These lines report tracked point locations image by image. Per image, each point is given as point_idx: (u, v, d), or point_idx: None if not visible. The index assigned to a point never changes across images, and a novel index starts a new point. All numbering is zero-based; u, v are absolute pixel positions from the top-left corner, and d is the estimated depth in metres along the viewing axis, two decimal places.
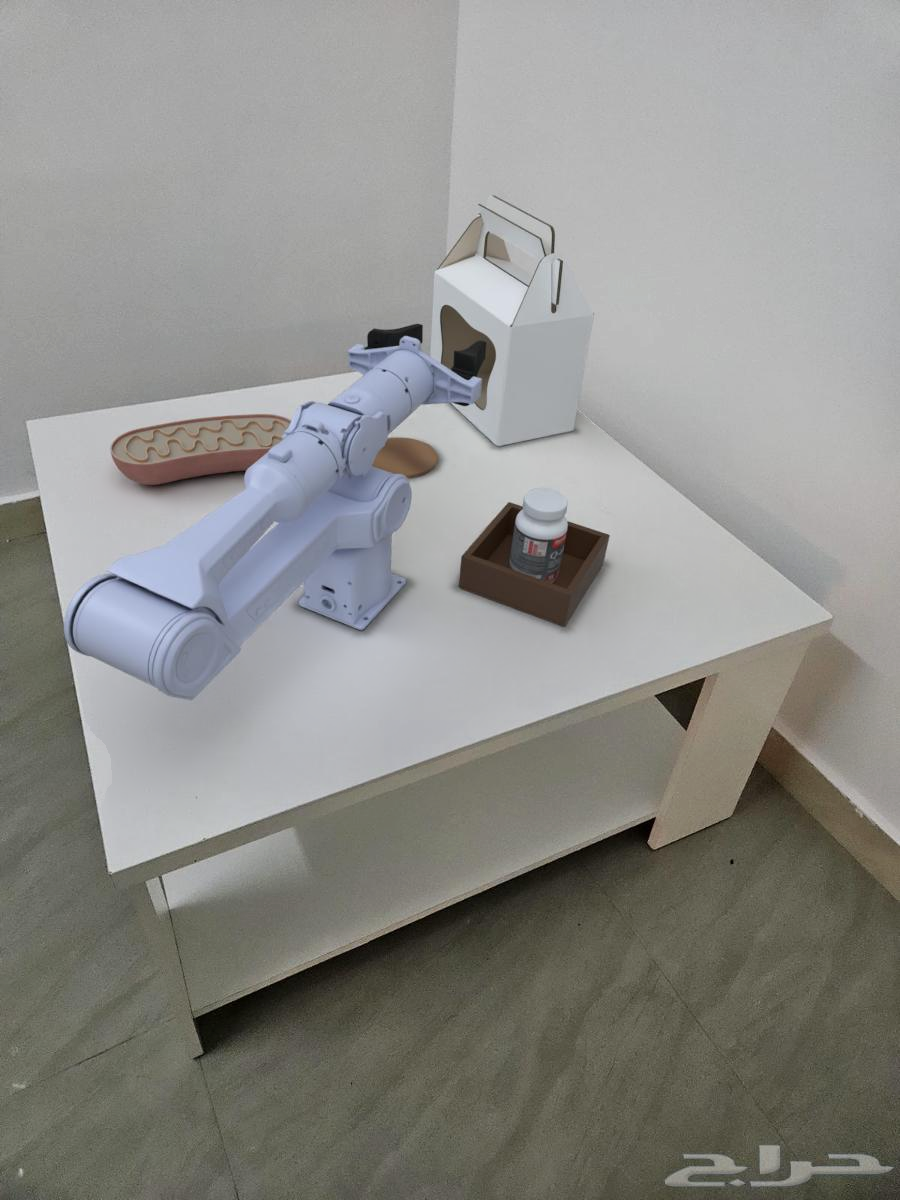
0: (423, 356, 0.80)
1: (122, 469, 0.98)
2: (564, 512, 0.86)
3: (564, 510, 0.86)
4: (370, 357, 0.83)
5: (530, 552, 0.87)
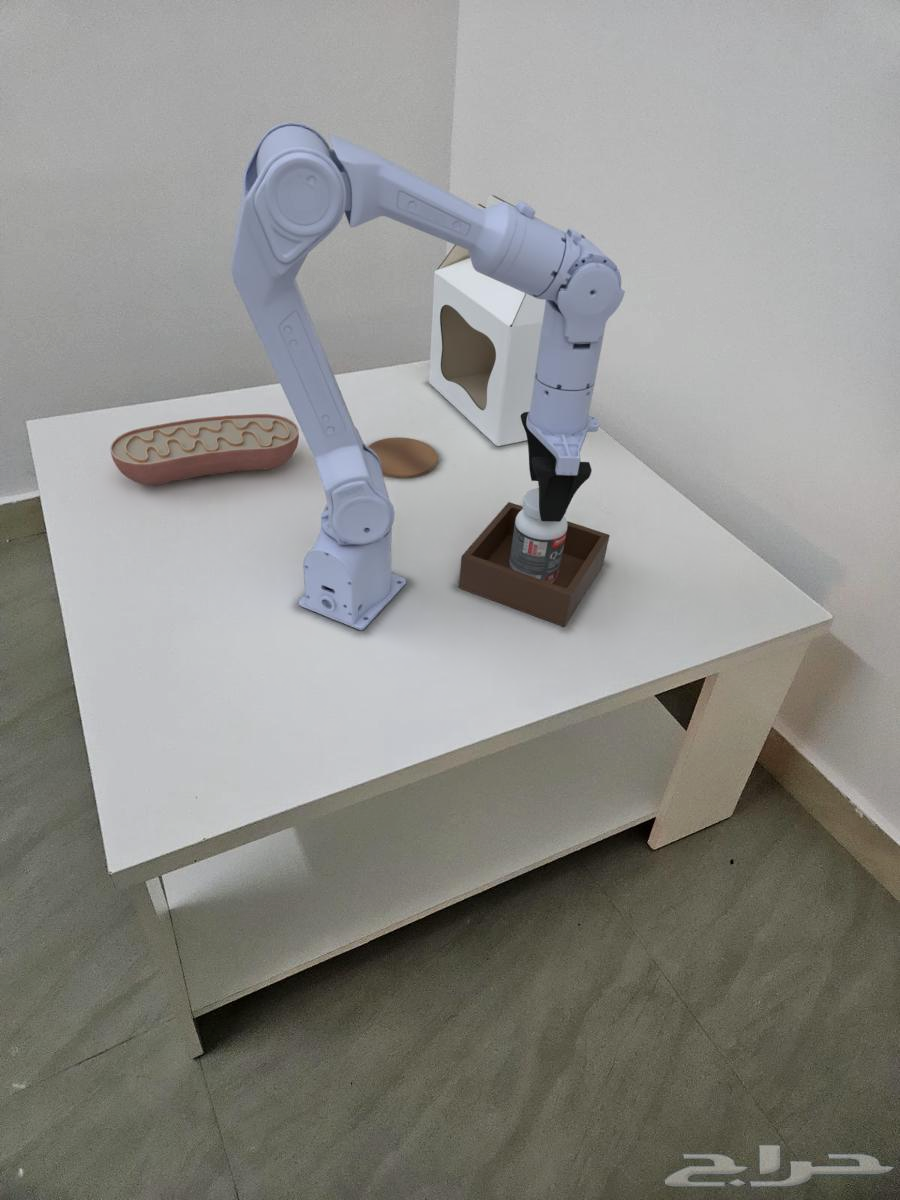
0: (587, 429, 0.79)
1: (122, 469, 0.98)
2: None
3: None
4: None
5: (529, 552, 0.87)
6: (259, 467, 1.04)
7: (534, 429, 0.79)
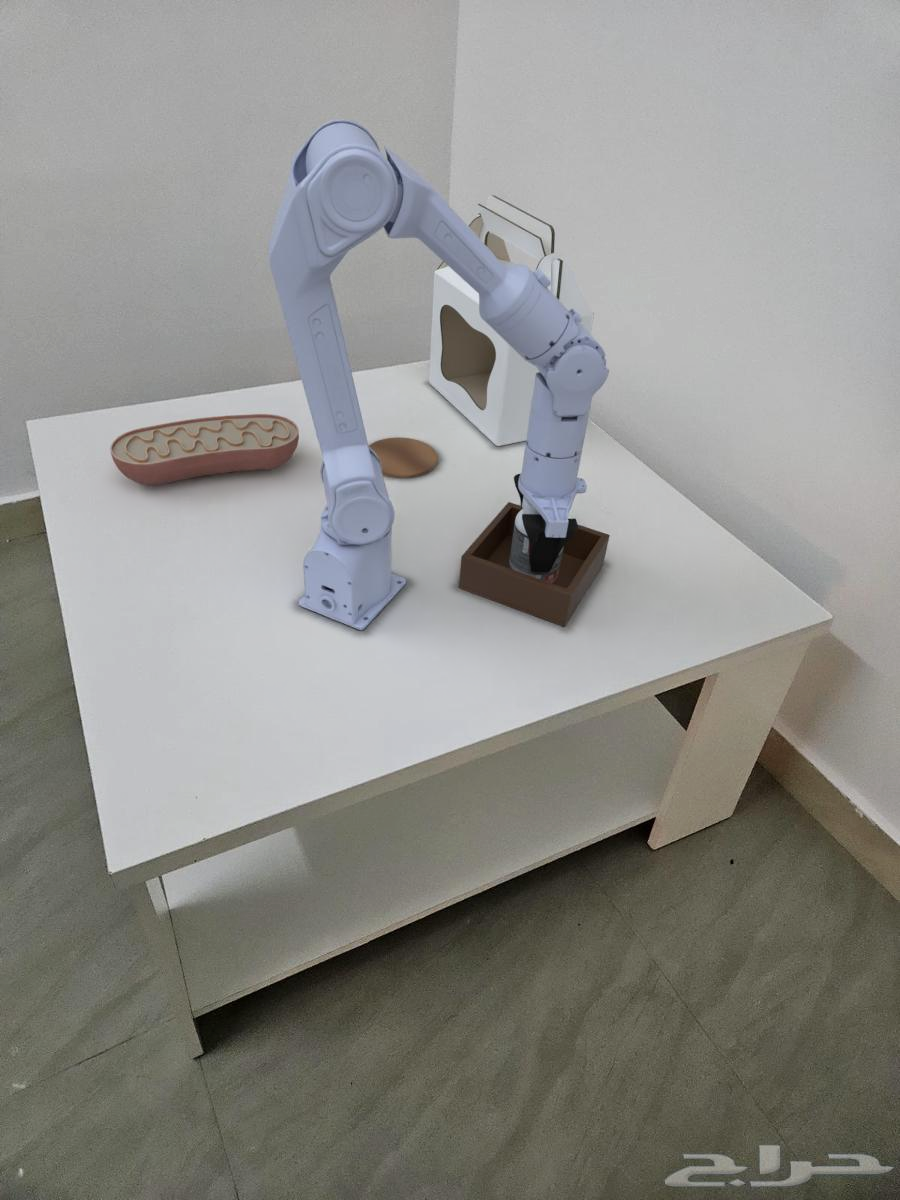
0: (575, 491, 0.84)
1: (122, 469, 0.98)
2: None
3: None
4: None
5: None
6: (259, 467, 1.04)
7: (525, 492, 0.83)
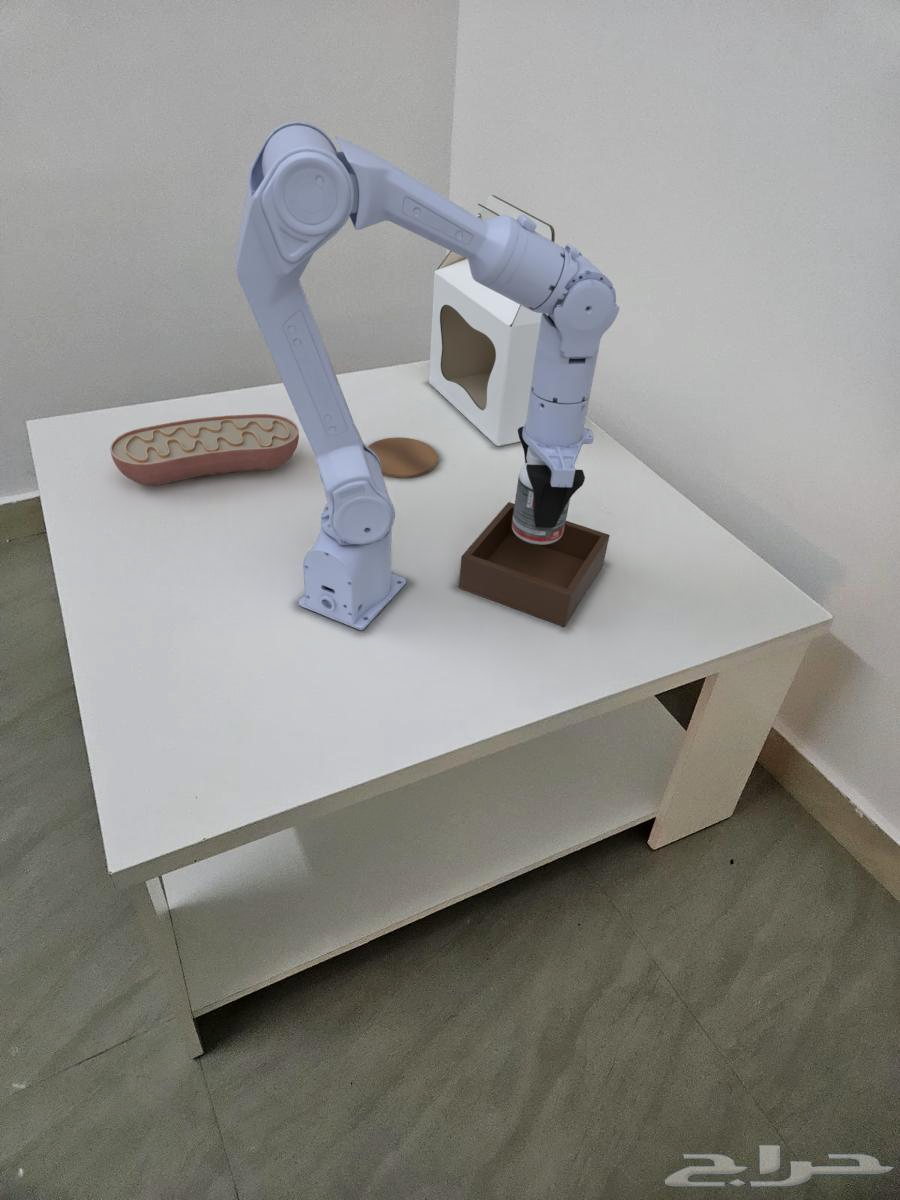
0: (582, 441, 0.80)
1: (122, 469, 0.98)
2: None
3: None
4: None
5: None
6: (259, 467, 1.04)
7: (530, 441, 0.80)
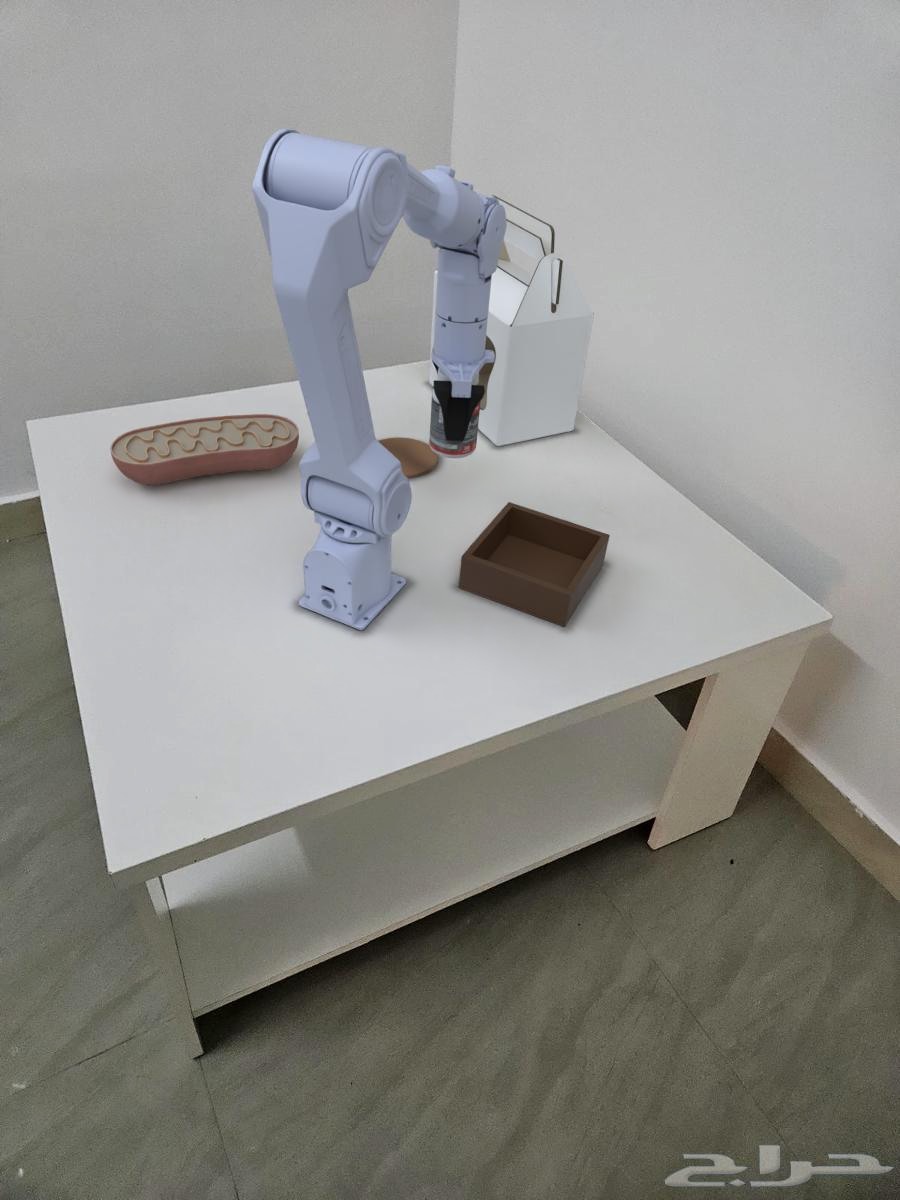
0: (483, 360, 0.90)
1: (122, 469, 0.98)
2: (475, 382, 0.92)
3: (475, 380, 0.92)
4: None
5: None
6: (259, 467, 1.04)
7: (436, 359, 0.89)
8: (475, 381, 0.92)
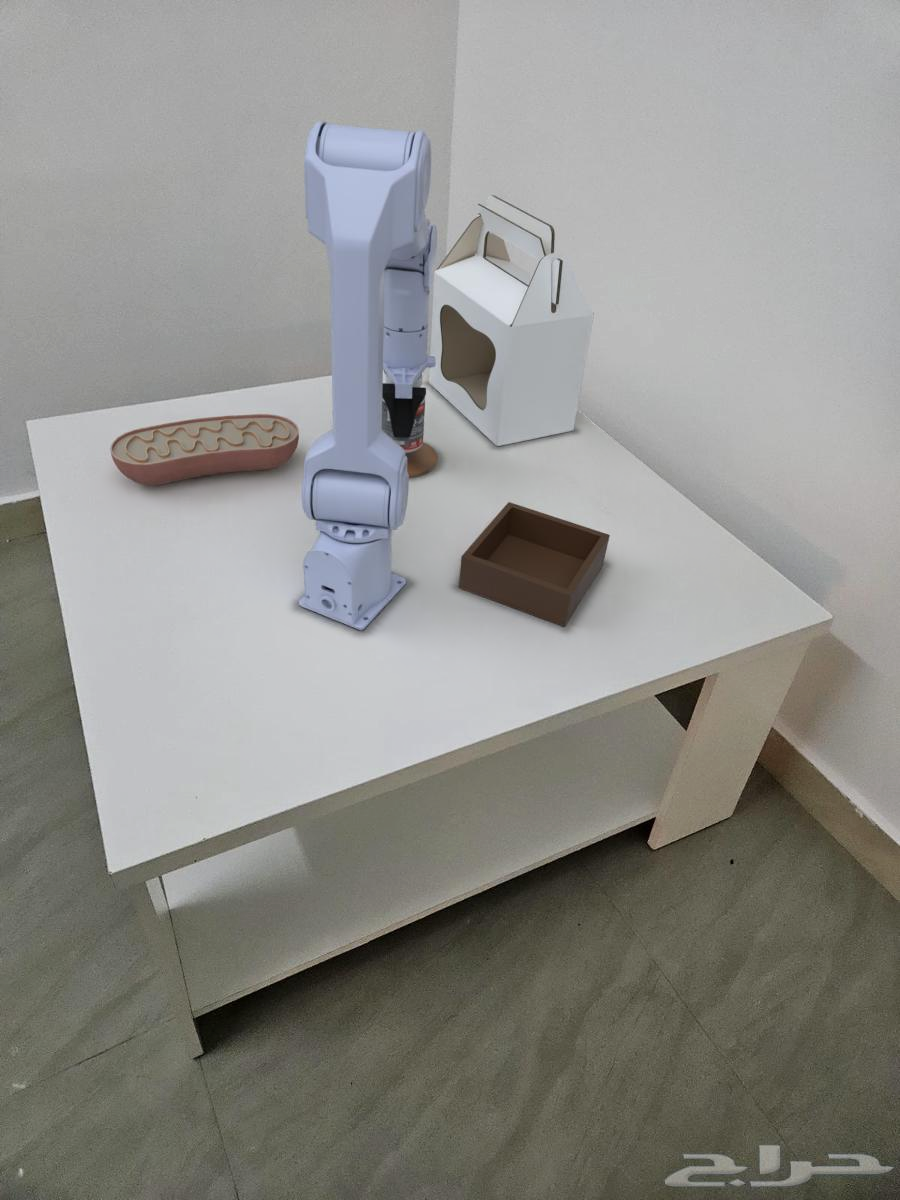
0: (425, 364, 1.01)
1: (122, 469, 0.98)
2: (418, 384, 1.03)
3: (419, 382, 1.03)
4: None
5: None
6: (259, 467, 1.04)
7: (382, 364, 1.00)
8: (419, 383, 1.03)
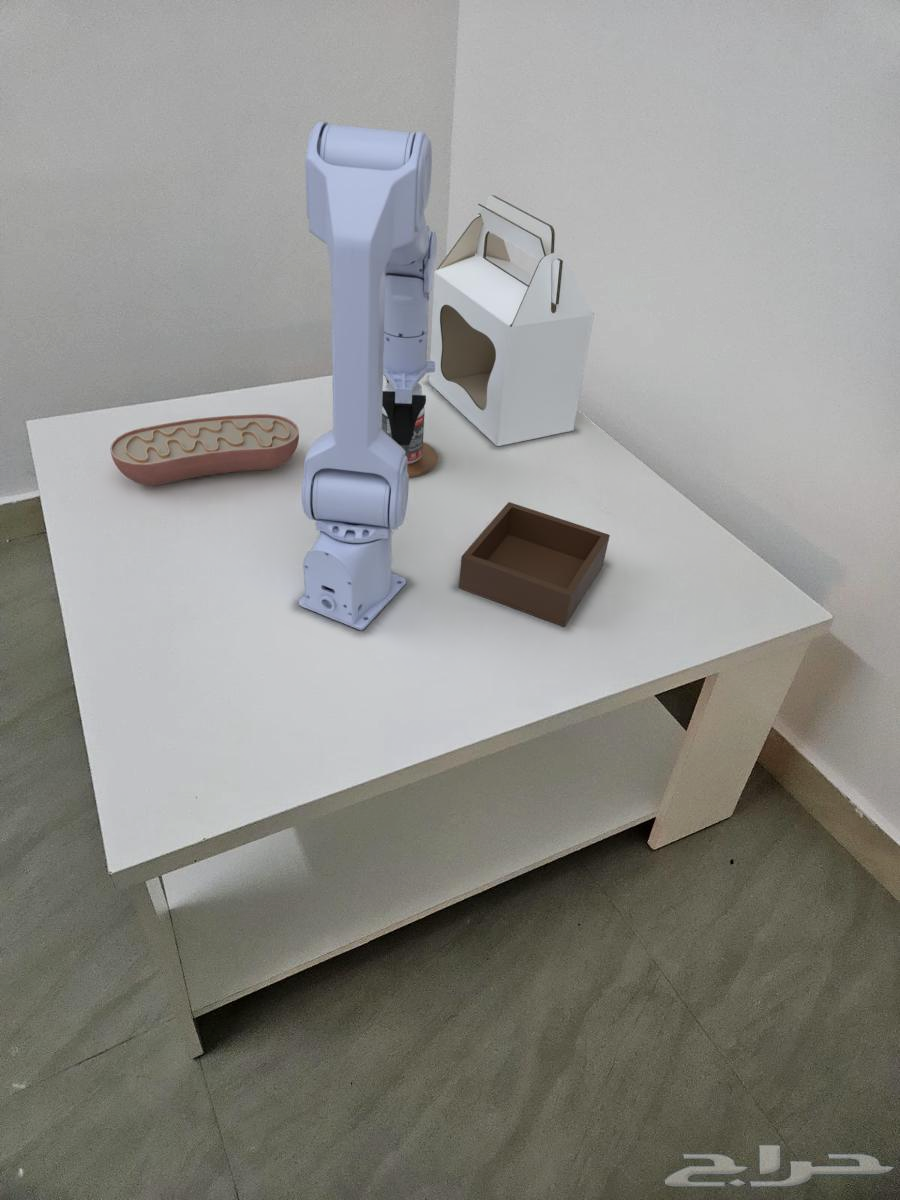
0: (424, 370, 1.01)
1: (122, 469, 0.98)
2: None
3: None
4: None
5: None
6: (259, 467, 1.04)
7: (382, 369, 1.01)
8: None
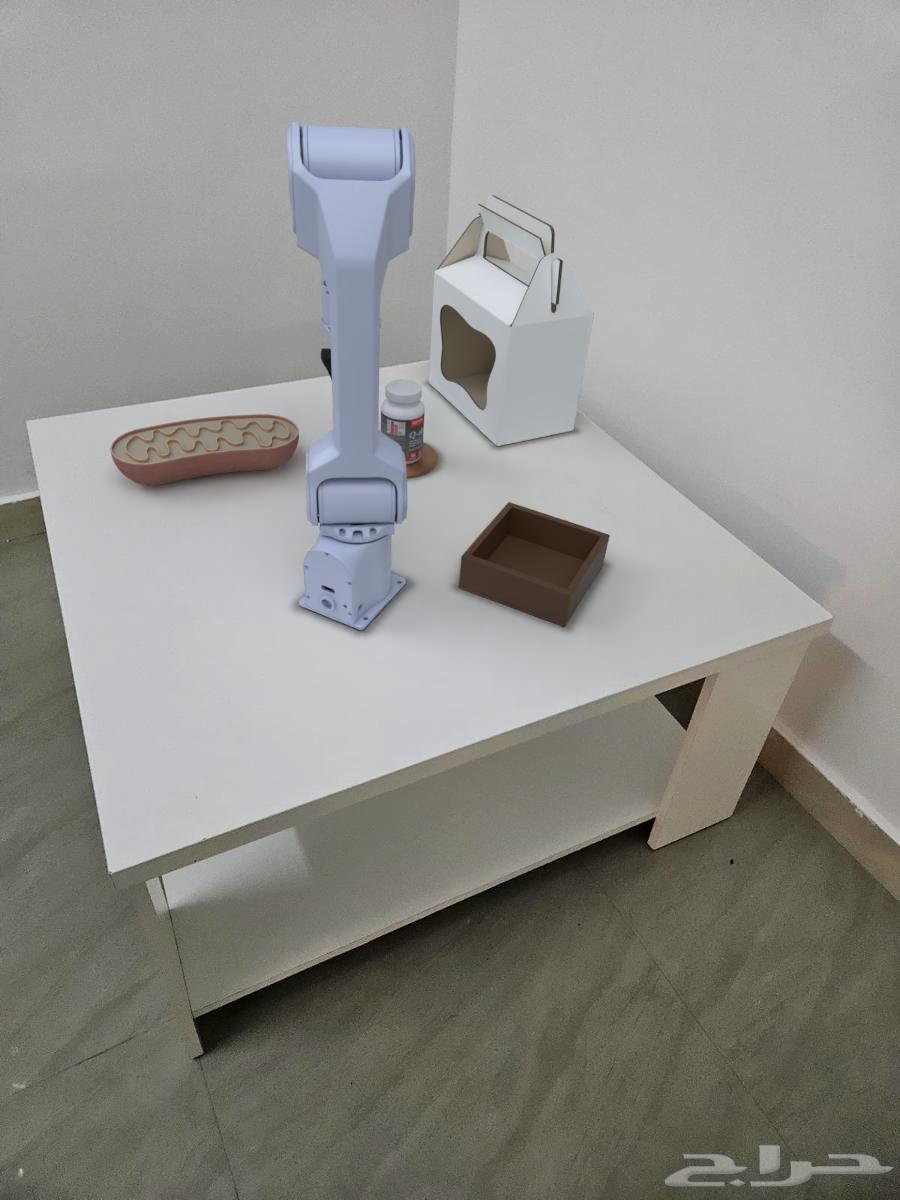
0: None
1: (122, 469, 0.98)
2: (418, 397, 1.04)
3: (418, 395, 1.04)
4: None
5: (392, 432, 1.05)
6: (259, 467, 1.04)
7: (324, 325, 0.95)
8: (418, 396, 1.04)
